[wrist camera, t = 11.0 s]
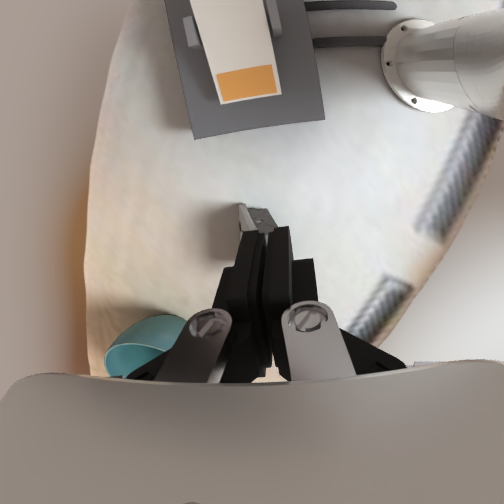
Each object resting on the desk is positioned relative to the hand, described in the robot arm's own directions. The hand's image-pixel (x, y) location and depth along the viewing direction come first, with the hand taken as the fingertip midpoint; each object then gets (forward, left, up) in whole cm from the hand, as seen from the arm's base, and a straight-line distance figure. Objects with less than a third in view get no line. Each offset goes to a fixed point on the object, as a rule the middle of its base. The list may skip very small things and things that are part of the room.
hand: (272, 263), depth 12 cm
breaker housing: (+2, -13, -29) cm, 32 cm away
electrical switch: (+5, +13, -29) cm, 33 cm away
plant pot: (+24, +31, -29) cm, 49 cm away
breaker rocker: (+2, -13, -19) cm, 23 cm away
